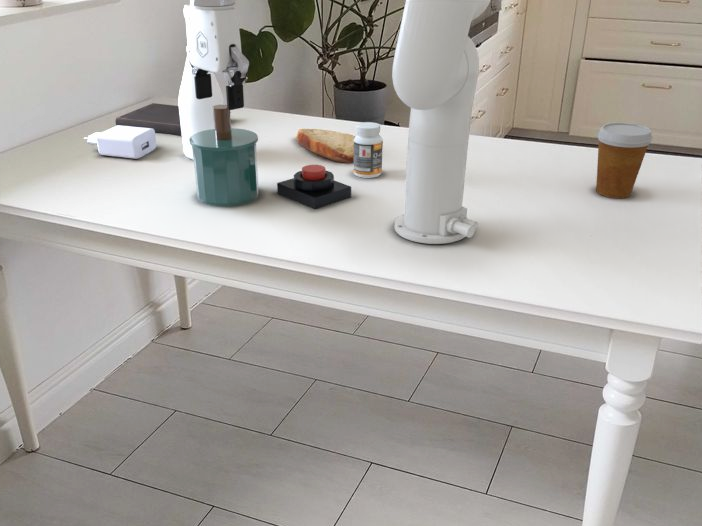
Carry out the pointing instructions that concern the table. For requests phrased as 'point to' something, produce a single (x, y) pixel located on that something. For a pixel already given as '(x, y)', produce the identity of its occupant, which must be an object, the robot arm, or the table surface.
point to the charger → (124, 141)
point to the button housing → (314, 190)
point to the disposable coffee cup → (620, 157)
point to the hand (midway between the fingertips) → (219, 103)
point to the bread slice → (328, 144)
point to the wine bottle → (195, 103)
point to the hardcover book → (154, 118)
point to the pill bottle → (368, 150)
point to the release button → (313, 172)
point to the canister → (226, 176)
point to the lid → (223, 134)
